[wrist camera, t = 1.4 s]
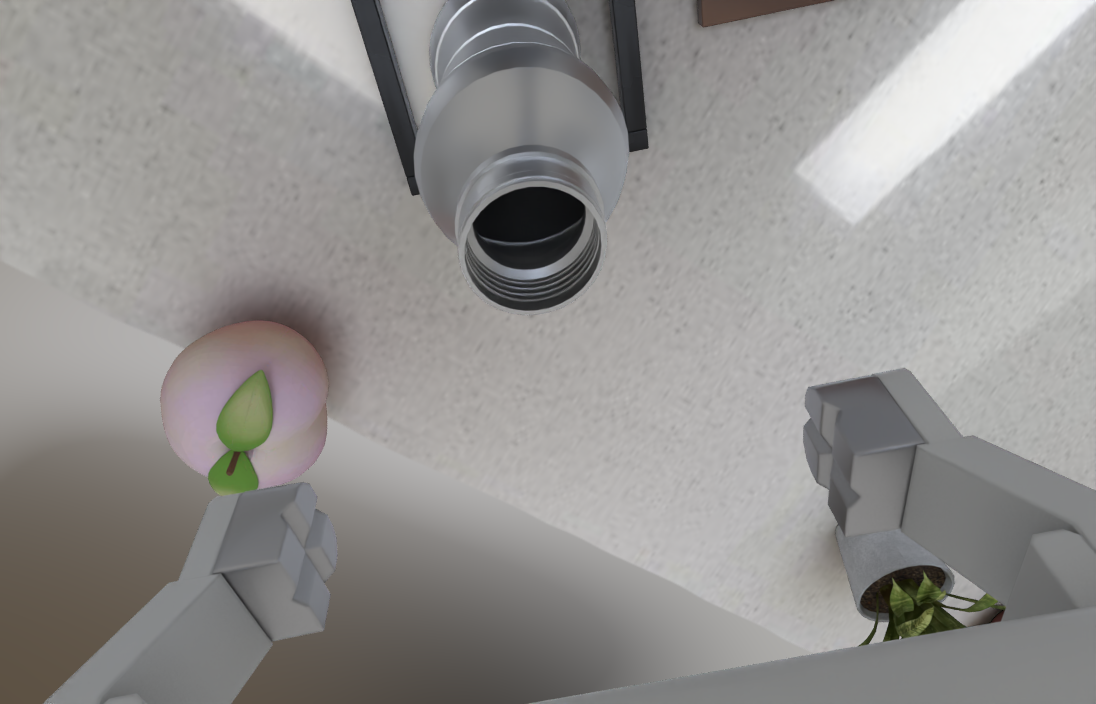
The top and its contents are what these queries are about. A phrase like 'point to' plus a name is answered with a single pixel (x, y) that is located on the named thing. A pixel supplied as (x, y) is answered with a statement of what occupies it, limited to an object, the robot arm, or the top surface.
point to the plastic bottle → (519, 152)
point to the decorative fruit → (247, 406)
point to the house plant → (901, 584)
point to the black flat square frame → (399, 107)
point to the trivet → (744, 9)
